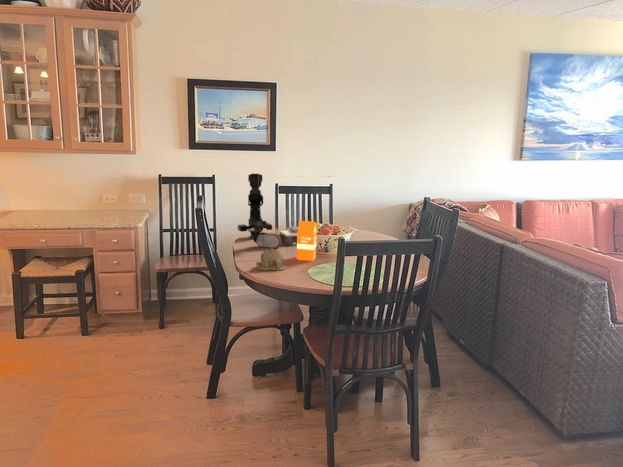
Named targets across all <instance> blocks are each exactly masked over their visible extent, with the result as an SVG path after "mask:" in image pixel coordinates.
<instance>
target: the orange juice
mask: <svg viewBox="0 0 623 467" xmlns="http://www.w3.org/2000/svg"><path fill="white" fill-rule="evenodd" d="M297 227H298V232H297V244H296V260H299V261H307V262H313V261H315V259H316V258H317V231H318V230H317V225H316V221H309V220H307V221H306V220H299V221H298V226H297Z"/></svg>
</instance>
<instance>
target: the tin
mask: <svg viewBox="0 0 623 467" xmlns="http://www.w3.org/2000/svg"><path fill="white" fill-rule="evenodd" d="M255 244H256V245H257V246H258V247H259V248H266V249H267V248H268V249H271V248H273V249H277V248H279V247H280V245H282V242H281V238H280V236H279V234H278V233H272V232H263V231H262V232H260V233H259V235H258V238H257V240H256V242H255Z"/></svg>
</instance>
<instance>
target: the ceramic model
mask: <svg viewBox="0 0 623 467" xmlns="http://www.w3.org/2000/svg"><path fill="white" fill-rule="evenodd" d="M259 261H260V262H259ZM259 261H256V263H255V265H256V268H257V270H259V271H283V270H286V269H287V266H286V265H285V264H284V263H283V261H284V255H283V254H282V253H281V252H280V250H279V249H277V248H269V249H265V250H264V251H262V252H261V255H260V260H259Z"/></svg>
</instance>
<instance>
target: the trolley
mask: <svg viewBox="0 0 623 467" xmlns="http://www.w3.org/2000/svg"><path fill="white" fill-rule="evenodd" d="M297 232H298V226H290V227H289V230H288V229H287V230H279V234H278V235H279V236H280V238H281V243H284V245H286V246H289V247H290V246H292V245H293V243H294V242H295V244H296V245H297Z"/></svg>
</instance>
